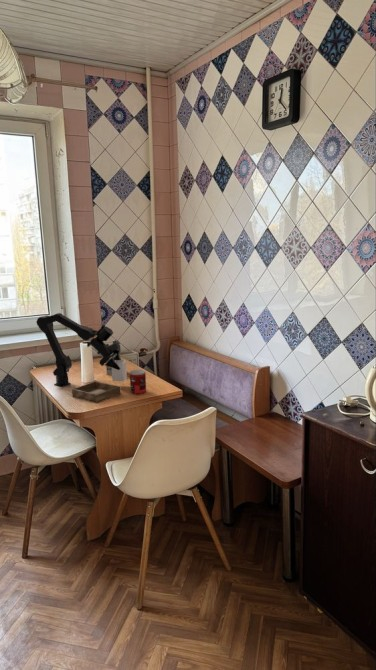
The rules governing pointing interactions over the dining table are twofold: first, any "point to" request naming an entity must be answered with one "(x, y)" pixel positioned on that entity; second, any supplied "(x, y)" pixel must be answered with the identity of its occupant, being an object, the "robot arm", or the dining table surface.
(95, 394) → the walnut crate
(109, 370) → the coffee box
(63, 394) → the dining table surface
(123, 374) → the light grey block
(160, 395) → the dining table surface
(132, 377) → the canned food
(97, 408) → the dining table surface
